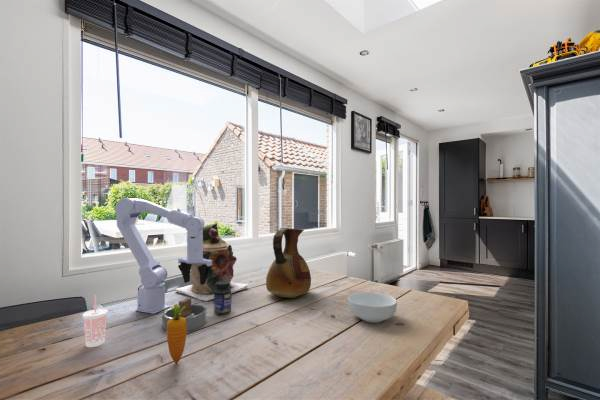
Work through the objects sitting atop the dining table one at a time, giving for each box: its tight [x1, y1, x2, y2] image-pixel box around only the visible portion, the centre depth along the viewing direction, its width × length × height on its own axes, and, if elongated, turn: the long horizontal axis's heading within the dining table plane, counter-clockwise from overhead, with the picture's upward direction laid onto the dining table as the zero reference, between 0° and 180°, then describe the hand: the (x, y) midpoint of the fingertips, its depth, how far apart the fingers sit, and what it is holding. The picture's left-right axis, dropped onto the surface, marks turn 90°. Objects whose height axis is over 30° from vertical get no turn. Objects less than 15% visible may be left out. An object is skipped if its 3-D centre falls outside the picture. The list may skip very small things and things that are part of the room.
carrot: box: [166, 303, 187, 364], centre depth 77 cm, size 5×5×15 cm
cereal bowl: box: [347, 291, 398, 324], centre depth 106 cm, size 17×17×7 cm
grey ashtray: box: [161, 303, 208, 332], centre depth 102 cm, size 14×14×4 cm
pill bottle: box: [213, 281, 232, 316], centre depth 112 cm, size 6×6×11 cm
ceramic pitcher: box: [265, 227, 312, 299], centre depth 133 cm, size 20×20×30 cm
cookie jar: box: [175, 221, 249, 302], centre depth 139 cm, size 25×25×32 cm
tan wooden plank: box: [178, 297, 192, 318], centre depth 102 cm, size 2×4×7 cm, turn 159°
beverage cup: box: [82, 294, 109, 348], centre depth 87 cm, size 6×6×14 cm
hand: (194, 283), depth 115 cm, fingers open, 7 cm apart
